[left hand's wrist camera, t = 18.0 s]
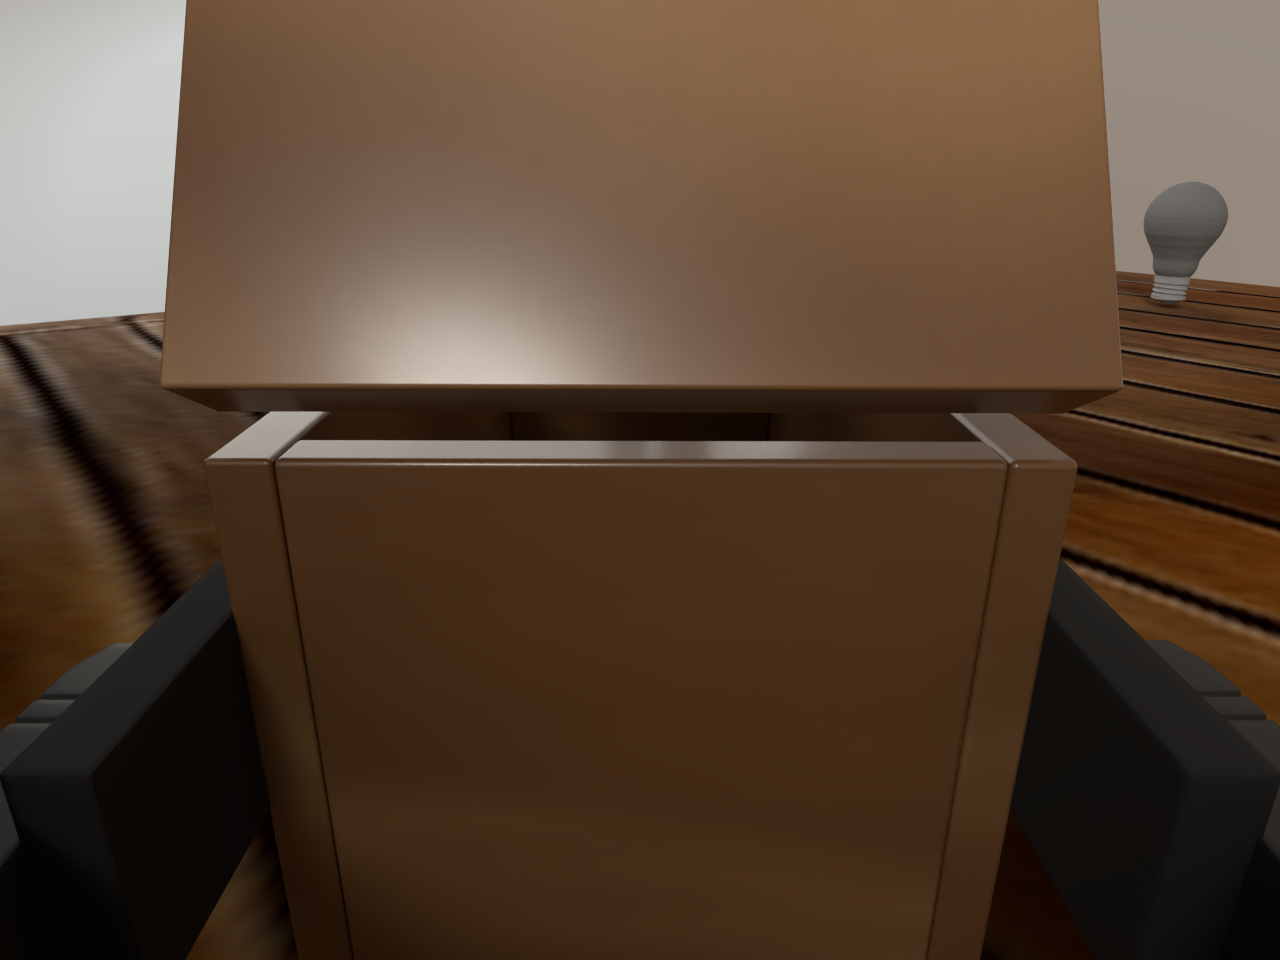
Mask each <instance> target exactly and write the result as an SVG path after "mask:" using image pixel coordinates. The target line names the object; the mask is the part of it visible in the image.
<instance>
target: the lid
mask: <svg viewBox="0 0 1280 960" xmlns="http://www.w3.org/2000/svg"><path fill="white" fill-rule="evenodd" d="M160 385H161V387H162V388H164V389H166V390H168V391H171V392H173V393H176V394H178V395H181V396H183V397H185V398H188V399H190V400H193V401H195V402H198V403H200V404H202V405H205V406H207V407H210V408H212V409H215V410H217V411H261V412H666V413H1066V412H1068V411H1071V410H1073V409H1076V408H1078V407H1081V406H1083V405H1086V404H1088V403H1091V402H1093V401H1096V400H1098V399H1101V398H1103V397H1105V396H1108V395H1110V394H1113V393H1115V392H1118V391H1120V390H1121V389H1122V387H1123V377H1122V361H1121V346H1120V331H1119V315H1118V300H1117V285H1116V269H1115V254H1114V239H1113V223H1112V208H1111V193H1110V178H1109V162H1108V147H1107V131H1106V116H1105V101H1104V85H1103V70H1102V55H1101V40H1100V24H1099V9H1098V0H187V2H186V16H185V31H184V46H183V60H182V74H181V88H180V103H179V117H178V131H177V146H176V160H175V174H174V189H173V203H172V218H171V232H170V246H169V261H168V275H167V289H166V304H165V318H164V333H163V347H162V361H161V376H160Z"/></svg>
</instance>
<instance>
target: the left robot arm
mask: <svg viewBox="0 0 1280 960" xmlns="http://www.w3.org/2000/svg"><path fill="white" fill-rule="evenodd" d="M1240 692H1241V691H1240V690H1239V689H1237V688H1236V687H1235V686H1234V685H1233V684H1232V683H1231V682H1230V681H1229V680H1227V679H1226V678H1225V677H1224V676H1223V675H1222V674H1221V673H1220V672H1219V671H1217V670H1216V669H1215V668H1214V667H1213V666H1212V665H1211V664H1210V663H1208V662H1206V661H1204V660H1202V659H1200V658H1199V657H1197V656H1195V655H1193V654H1191V653H1189V652H1188V651H1186V650H1184V649H1182V648H1180V647H1178V646H1177V645H1175V644H1173V643H1171V642H1169V641H1167V640H1144V639H1143V638H1142V637H1141V636H1140V635H1139V634H1138V633H1137V632H1136V631H1135V630H1133V629H1132V628H1131V627H1130V626H1129V625H1128V624H1127V623H1126V622H1125V621H1124V620H1123V619H1122V618H1121V617H1120V616H1119V615H1118V614H1117V613H1116V612H1115V611H1114V610H1113V609H1112V608H1111V607H1110V606H1109V605H1108V604H1107V603H1106V602H1105V601H1104V600H1103V599H1102V598H1101V597H1100V596H1099V595H1098V594H1097V593H1096V592H1095V591H1093V590H1092V589H1091V588H1090V587H1089V586H1088V585H1087V584H1086V583H1085V582H1084V581H1083V580H1082V579H1081V578H1080V577H1079V576H1078V575H1077V574H1076V573H1075V572H1074V571H1073V570H1072V569H1071V568H1070V567H1069V566H1068V565H1067V564H1066V563H1065V562H1064V561H1063V560H1062V559H1061V558H1060V559H1059V564H1058V569H1057V574H1056V579H1055V584H1054V589H1053V594H1052V599H1051V604H1050V609H1049V613H1048V618H1047V624H1046V629H1045V634H1044V639H1043V644H1042V649H1041V654H1040V659H1039V664H1038V669H1037V675H1036V680H1035V685H1034V690H1033V695H1032V700H1031V705H1030V710H1029V715H1028V720H1027V725H1026V731H1025V736H1024V741H1023V746H1022V751H1021V756H1020V761H1019V766H1018V771H1017V776H1016V781H1015V786H1014V791H1013V796H1012V801H1011V806H1010V808H1011V809H1012V811H1013V813H1014V815H1015V817H1016V818H1017V820H1018V822H1019V824H1020V825H1021V827H1022V829H1023V831H1024V833H1025V834H1026V836H1027V838H1028V840H1029V842H1030V843H1031V845H1032V847H1033V849H1034V850H1035V852H1036V854H1037V856H1038V858H1039V859H1040V861H1041V863H1042V865H1043V866H1044V868H1045V870H1046V872H1047V874H1048V875H1049V877H1050V879H1051V881H1052V882H1053V884H1054V886H1055V888H1056V890H1057V891H1058V893H1059V895H1060V897H1061V899H1062V900H1063V902H1064V904H1065V906H1066V907H1067V909H1068V911H1069V913H1070V915H1071V916H1072V918H1073V920H1074V922H1075V923H1076V925H1077V927H1078V929H1079V931H1080V932H1081V934H1082V936H1083V938H1084V939H1085V941H1086V943H1087V945H1088V947H1089V948H1090V950H1091V952H1092V954H1093V956H1094V957H1095V959H1096V960H1280V727H1279V726H1278V725H1277V724H1276V723H1275V722H1274V721H1273V720H1267V719H1266V714H1265V713H1264V712H1263V711H1262V710H1261V709H1260V708H1258V707H1257V706H1256V705H1255V704H1254V703H1253V702H1252V701H1251V700H1250V699H1248V698H1247V697H1241V694H1240ZM269 809H270V803H269V798H268V793H267V788H266V783H265V778H264V772H263V767H262V762H261V757H260V752H259V747H258V742H257V736H256V731H255V726H254V721H253V716H252V711H251V705H250V700H249V695H248V690H247V685H246V680H245V675H244V669H243V664H242V659H241V654H240V649H239V644H238V639H237V633H236V628H235V623H234V618H233V613H232V608H231V603H230V598H229V593H228V587H227V582H226V577H225V572H224V567H223V561H222V557H221V558H220V559H219V560H218V561H217V562H216V563H215V564H214V565H213V566H212V567H211V568H210V569H209V570H208V571H207V572H206V573H205V574H204V575H203V576H202V577H201V578H200V579H199V580H198V581H197V582H196V583H195V584H194V585H193V586H192V587H191V588H190V589H189V590H188V591H187V592H186V593H185V594H183V595H182V596H181V597H180V598H179V599H178V600H177V601H176V602H175V603H174V604H173V605H172V606H171V607H170V608H169V609H168V610H167V611H166V612H165V613H164V614H163V615H162V616H161V617H160V618H159V619H158V620H157V621H156V622H155V623H154V624H153V625H152V626H151V627H150V628H149V629H148V630H147V631H146V632H145V633H143V634H142V635H141V636H140V637H139V638H138V639H137V640H136V641H135V642H134V643H114V644H112V645H110V646H109V647H107V648H105V649H103V650H101V651H100V652H98V653H96V654H94V655H92V656H90V657H89V658H87V659H85V660H83V661H81V662H80V663H78V664H76V665H74V666H72V667H71V668H70V669H69V670H68V671H67V672H66V673H65V674H63V675H62V676H61V677H60V678H59V679H58V680H57V681H56V682H55V683H54V684H52V685H51V686H50V687H49V688H48V689H47V690H46V691H45V692H44V693H43V694H42V698H41V700H35V701H34V702H33V703H32V704H30V705H29V706H28V707H27V708H26V709H25V710H24V711H23V712H22V713H21V714H19V715H18V716H17V717H16V723H15V724H9V725H7V726H6V727H5V728H4V729H3V730H2V731H1V732H0V960H185V959H186V957H187V956H188V954H189V952H190V950H191V948H192V947H193V945H194V943H195V941H196V940H197V938H198V936H199V934H200V932H201V931H202V929H203V927H204V925H205V923H206V922H207V920H208V918H209V916H210V915H211V913H212V911H213V909H214V907H215V906H216V904H217V902H218V900H219V899H220V897H221V895H222V893H223V891H224V890H225V888H226V886H227V884H228V882H229V881H230V879H231V877H232V875H233V874H234V872H235V870H236V868H237V866H238V865H239V863H240V861H241V859H242V858H243V856H244V854H245V852H246V850H247V849H248V847H249V845H250V843H251V841H252V840H253V838H254V836H255V834H256V833H257V831H258V829H259V827H260V825H261V824H262V822H263V820H264V818H265V817H266V815H267V813H268V811H269Z"/></svg>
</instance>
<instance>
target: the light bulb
mask: <svg viewBox="0 0 1280 960" xmlns="http://www.w3.org/2000/svg"><path fill="white" fill-rule="evenodd" d="M1227 219H1228V209H1227V206H1226V203H1225V201H1224V199H1223V197H1222V196H1221V195H1220V193H1219V192H1218V191H1217V190H1216V189H1215V188H1213V187H1211V186H1209V185H1206V184H1203V183H1199V182H1186V183H1181V184H1177V185H1175V186H1172V187H1170V188H1168V189H1166V190H1165V191H1163V192H1162V193H1161V194H1160V195H1158V196H1157V197H1156V198H1155V199H1154V201H1153V202H1152V203H1151V204H1150V206H1149V208H1148V209H1147V211H1146V214H1145V218H1144V232H1145V235H1146V238H1147V241H1148V243H1149V245H1150V248H1151V251H1152V254H1153V270H1154V272H1155V278H1154V281H1155V282H1156V283H1154V284H1153V285H1154V286H1155V288H1153V289H1152V290H1154V292H1153V293H1151V298H1153V299H1155V300H1156V301H1158V302H1159V303H1161V304H1176V303H1178V302H1181V301H1183V300H1185V299H1186V297H1184V294H1187V293H1185V290H1187V289H1188V288H1186V285H1189V281H1190V278H1191V276H1192V275H1193V274H1194V272H1195V271H1196V269H1197V267H1198V264H1199V261H1200V259H1201V258H1202V257H1203V255H1204V254H1205V253H1206V252H1207V250H1208V249H1209V248H1210V247H1211V246H1212V245H1213V244H1214V242H1215V241H1216V240H1217V239H1218V238H1219V237H1220V235H1221V234H1222V232H1223V230H1224V228H1225V226H1226V223H1227Z"/></svg>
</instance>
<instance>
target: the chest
mask: <svg viewBox="0 0 1280 960" xmlns="http://www.w3.org/2000/svg"><path fill="white" fill-rule="evenodd" d="M204 468H205V473H206V478H207V483H208V489H209V494H210V499H211V504H212V509H213V515H214V520H215V525H216V530H217V535H218V541H219V546H220V551H221V556H222V561H223V567H224V572H225V577H226V582H227V587H228V593H229V598H230V603H231V608H232V613H233V618H234V623H235V628H236V633H237V639H238V644H239V649H240V654H241V659H242V664H243V669H244V675H245V680H246V685H247V690H248V695H249V700H250V705H251V711H252V716H253V721H254V726H255V731H256V736H257V742H258V747H259V752H260V757H261V762H262V767H263V772H264V778H265V783H266V788H267V793H268V798H269V803H270V811H271V816H272V822H273V827H274V832H275V837H276V842H277V848H278V853H279V858H280V863H281V868H282V874H283V879H284V884H285V889H286V894H287V900H288V905H289V910H290V915H291V920H292V926H293V931H294V936H295V941H296V946H297V952H298V957H299V960H980V957H981V952H982V947H983V942H984V937H985V932H986V927H987V922H988V917H989V912H990V907H991V902H992V897H993V892H994V887H995V882H996V877H997V872H998V867H999V862H1000V857H1001V852H1002V846H1003V841H1004V836H1005V831H1006V826H1007V821H1008V816H1009V811H1010V806H1011V801H1012V796H1013V791H1014V786H1015V781H1016V776H1017V771H1018V766H1019V761H1020V756H1021V751H1022V746H1023V741H1024V736H1025V731H1026V725H1027V720H1028V715H1029V710H1030V705H1031V700H1032V695H1033V690H1034V685H1035V680H1036V675H1037V669H1038V664H1039V659H1040V654H1041V649H1042V644H1043V639H1044V634H1045V629H1046V624H1047V618H1048V613H1049V609H1050V604H1051V599H1052V594H1053V589H1054V584H1055V579H1056V574H1057V569H1058V564H1059V559H1060V554H1061V549H1062V544H1063V539H1064V534H1065V529H1066V524H1067V519H1068V514H1069V509H1070V504H1071V499H1072V494H1073V488H1074V483H1075V478H1076V473H1077V464H1076V461H1074V460H1073V459H1072V458H1070V457H1069V456H1068V455H1066V454H1065V453H1063V452H1062V451H1061V450H1059V449H1058V448H1057V447H1055V446H1054V445H1053V444H1051V443H1050V442H1049V441H1047V440H1046V439H1045V438H1043V437H1042V436H1040V435H1039V434H1038V433H1036V432H1035V431H1034V430H1032V429H1031V428H1030V427H1028V426H1027V425H1026V424H1024V423H1023V422H1021V421H1020V420H1019V419H1017V418H1016V417H1015V416H1013V415H1012V414H1011V413H666V412H270V413H268V414H267V415H265V416H264V417H263V418H261V419H260V420H259V421H257V422H256V423H255V424H253V425H252V426H250V427H249V428H248V429H246V430H245V431H244V432H242V433H241V434H240V435H238V436H237V437H235V438H234V439H233V440H231V441H230V442H229V443H227V444H226V445H225V446H223V447H222V448H220V449H219V450H218V451H216V452H215V453H214V454H212V455H211V456H210V457H208V458H207V459H205V463H204Z"/></svg>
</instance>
